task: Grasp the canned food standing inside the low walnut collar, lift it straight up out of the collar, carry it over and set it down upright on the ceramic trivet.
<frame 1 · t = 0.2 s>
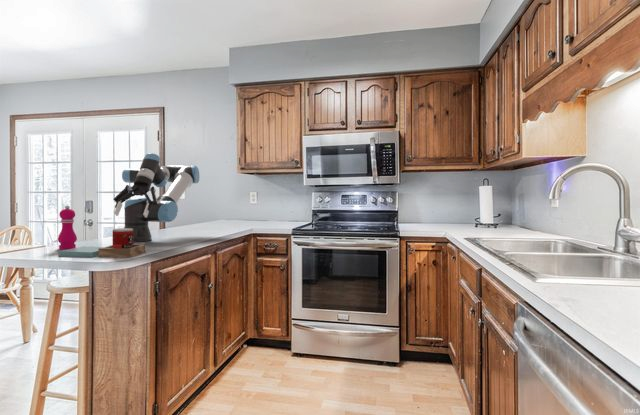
hand: (130, 215, 166), 16 cm above the countertop, tool tilted 35°, fingers open, 13 cm apart
collar: (122, 254, 152), on the countertop
pepper mill: (67, 248, 164), on the countertop
canned food: (122, 255, 152), resting in collar
trivet: (87, 253, 151), on the countertop
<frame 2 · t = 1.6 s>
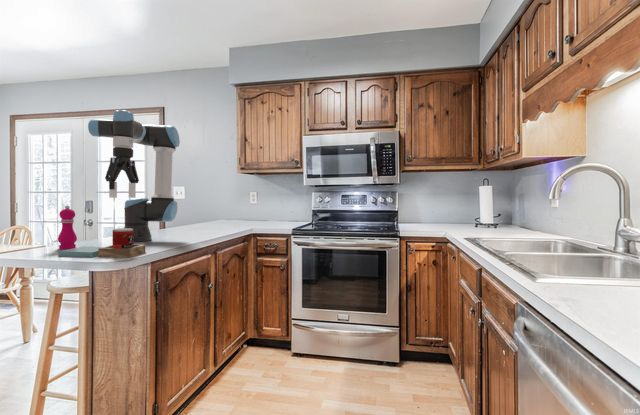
hand: (123, 197, 151), 24 cm above the countertop, tool pointing down, fingers open, 13 cm apart
nothing on the countertop moved.
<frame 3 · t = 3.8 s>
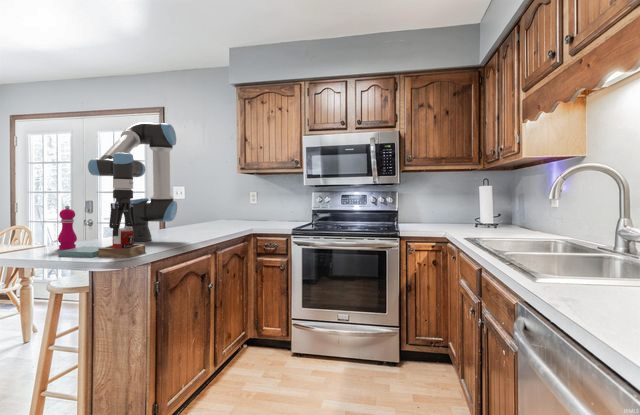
hand: (123, 242, 151), 5 cm above the countertop, tool pointing down, fingers closed on canned food, 8 cm apart
canned food: (122, 254, 152), resting in collar, touching gripper
everything else where it was.
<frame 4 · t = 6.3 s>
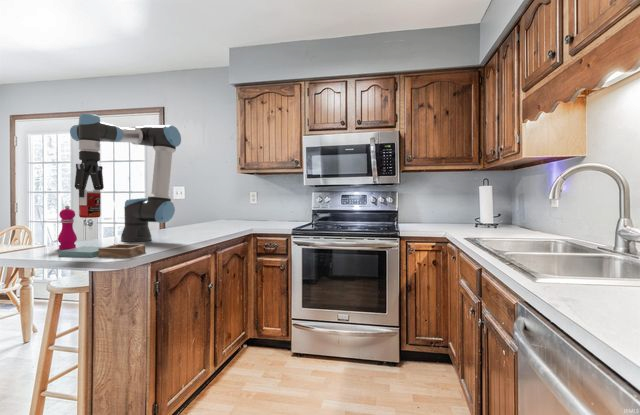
hand: (89, 204, 150), 21 cm above the countertop, tool pointing down, fingers closed on canned food, 8 cm apart
canned food: (89, 217, 151), point 16 cm above the countertop, touching gripper
everything else where it was.
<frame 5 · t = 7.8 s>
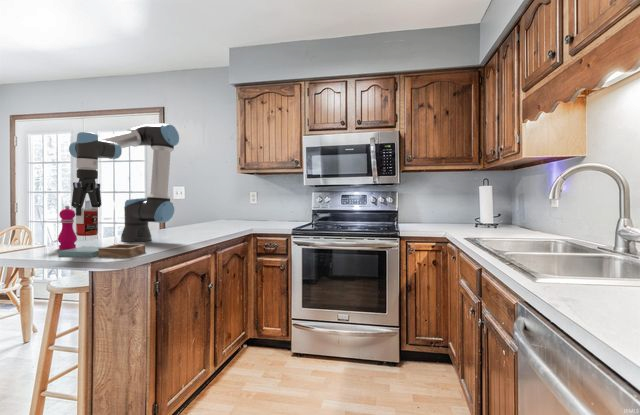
hand: (87, 222, 150), 13 cm above the countertop, tool pointing down, fingers closed on canned food, 8 cm apart
canned food: (87, 235, 151), point 8 cm above the countertop, touching gripper
everything else where it was.
when the fingers open (9 cm above the countertop, at t = 9.0 s): canned food drops 2 cm, resting on trivet.
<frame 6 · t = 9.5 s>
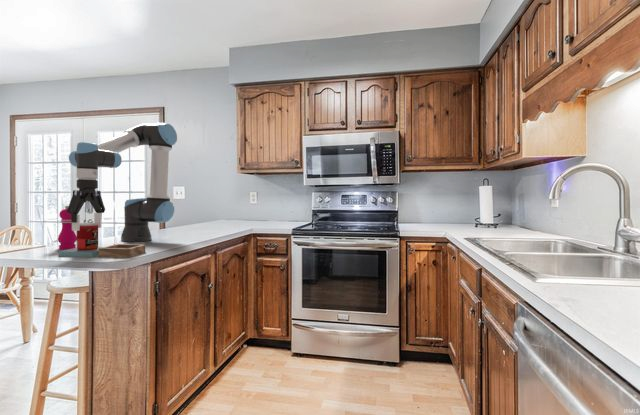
hand: (87, 229, 151), 11 cm above the countertop, tool pointing down, fingers open, 13 cm apart
canned food: (87, 249, 151), point 2 cm above the countertop, touching trivet
everything else where it was.
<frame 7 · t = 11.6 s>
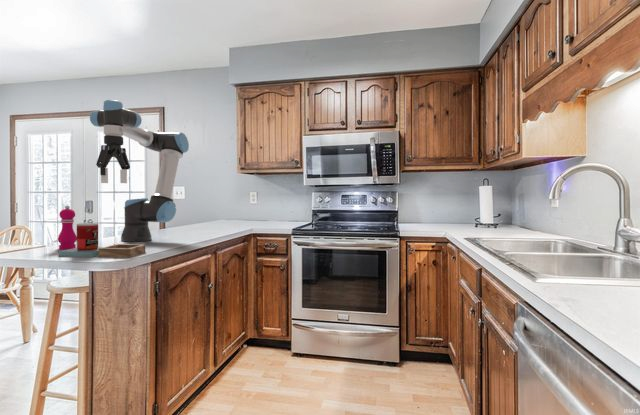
hand: (114, 183, 160), 31 cm above the countertop, tool pointing down, fingers open, 13 cm apart
nothing on the countertop moved.
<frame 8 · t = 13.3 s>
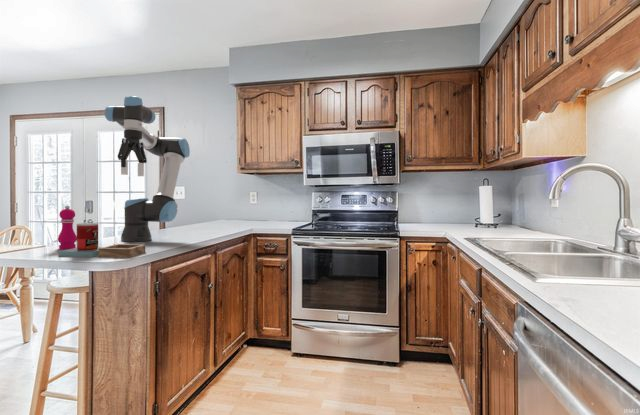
hand: (132, 175, 166), 35 cm above the countertop, tool pointing down, fingers open, 13 cm apart
nothing on the countertop moved.
at the end: canned food inside the target area on the trivet (0.1 cm from its centre), point 1.8 cm above the trivet's base; canned food tilted 0°; the gripper is holding nothing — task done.
